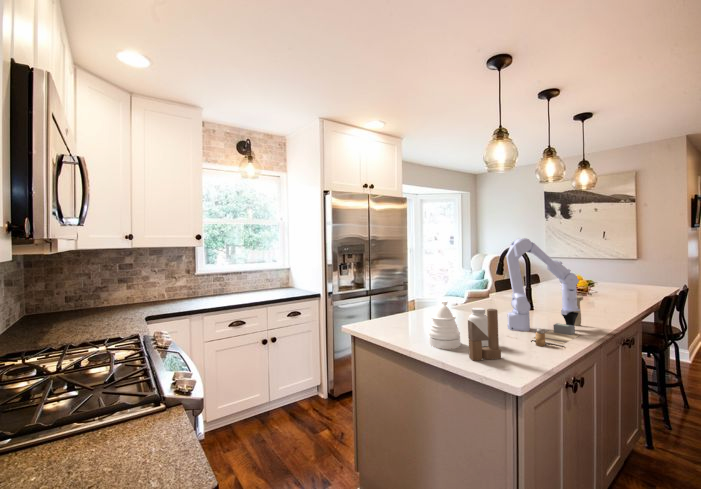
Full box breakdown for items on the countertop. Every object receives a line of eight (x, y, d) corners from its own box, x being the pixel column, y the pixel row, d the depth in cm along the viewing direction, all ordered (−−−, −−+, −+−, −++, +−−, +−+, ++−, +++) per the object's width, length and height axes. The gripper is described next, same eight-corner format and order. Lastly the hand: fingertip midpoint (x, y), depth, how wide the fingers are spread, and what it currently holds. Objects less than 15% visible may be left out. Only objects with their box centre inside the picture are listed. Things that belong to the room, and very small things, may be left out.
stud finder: (571, 335, 144) (571, 326, 144) (553, 332, 150) (553, 324, 150) (574, 333, 147) (574, 325, 147) (557, 330, 152) (557, 322, 152)
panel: (563, 347, 133) (563, 344, 133) (531, 341, 142) (531, 338, 142) (581, 337, 145) (581, 334, 145) (551, 332, 154) (551, 329, 154)
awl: (536, 346, 135) (536, 330, 135) (535, 343, 138) (534, 328, 138) (546, 346, 134) (545, 330, 134) (544, 344, 137) (543, 328, 137)
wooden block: (468, 357, 124) (467, 309, 124) (496, 356, 125) (494, 308, 125) (473, 361, 120) (471, 311, 120) (501, 359, 121) (499, 310, 121)
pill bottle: (488, 342, 143) (487, 307, 143) (490, 347, 135) (488, 310, 135) (469, 341, 145) (468, 306, 145) (469, 346, 138) (468, 310, 138)
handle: (586, 328, 159) (585, 297, 159) (575, 329, 158) (574, 297, 158) (577, 326, 164) (576, 295, 164) (566, 327, 163) (565, 296, 163)
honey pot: (434, 338, 150) (432, 299, 151) (463, 342, 144) (462, 300, 144) (425, 346, 139) (423, 303, 139) (456, 350, 133) (454, 305, 133)
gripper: (573, 301, 145) (574, 332, 145) (585, 297, 154) (586, 326, 154) (555, 299, 151) (556, 329, 151) (568, 296, 160) (569, 324, 160)
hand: (570, 328), depth 153 cm, fingers closed
